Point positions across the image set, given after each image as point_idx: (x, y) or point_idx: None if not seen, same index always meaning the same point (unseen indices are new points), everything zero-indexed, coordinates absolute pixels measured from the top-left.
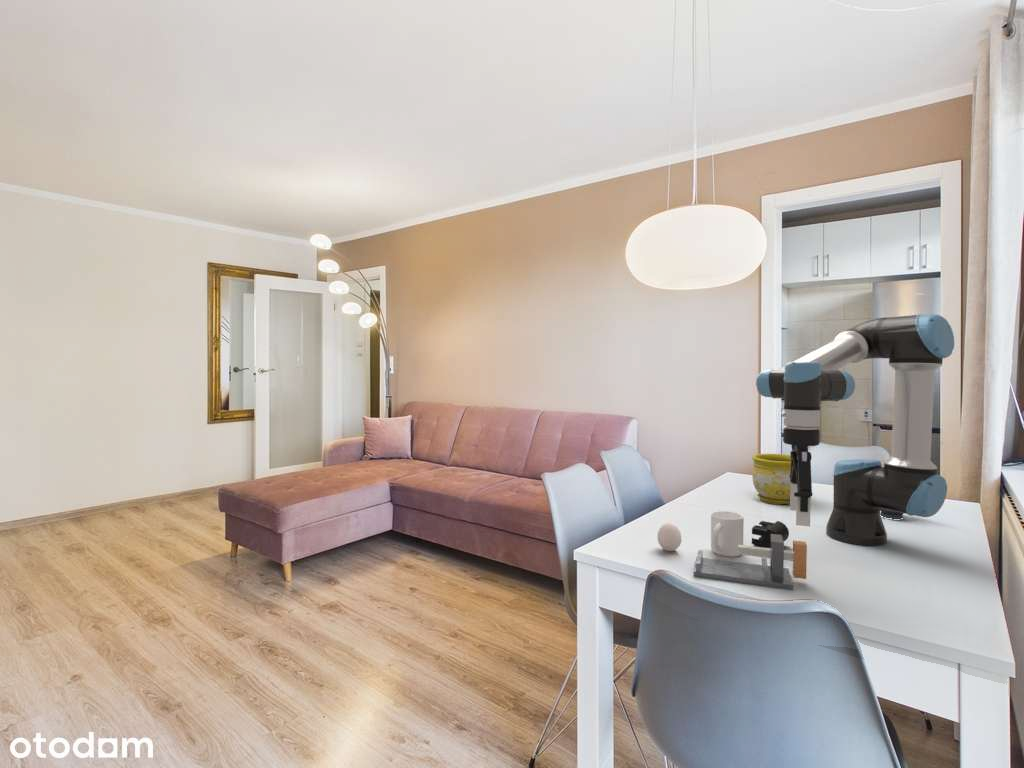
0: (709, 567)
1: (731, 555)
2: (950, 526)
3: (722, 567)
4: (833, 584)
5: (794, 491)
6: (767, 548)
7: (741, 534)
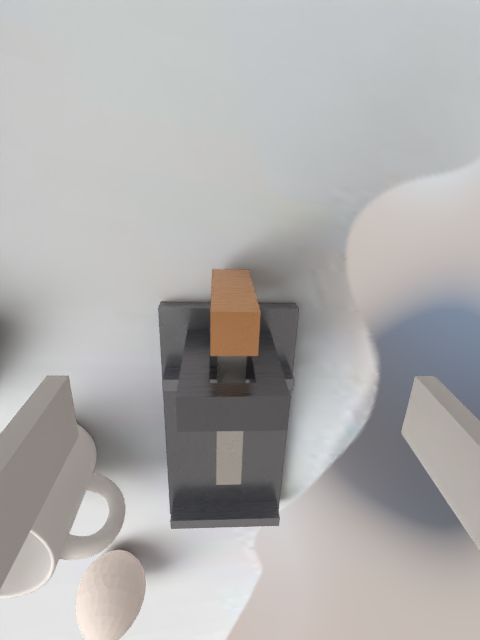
0: (238, 486)
1: (93, 441)
2: None
3: None
4: (204, 177)
5: (11, 531)
6: None
7: None
